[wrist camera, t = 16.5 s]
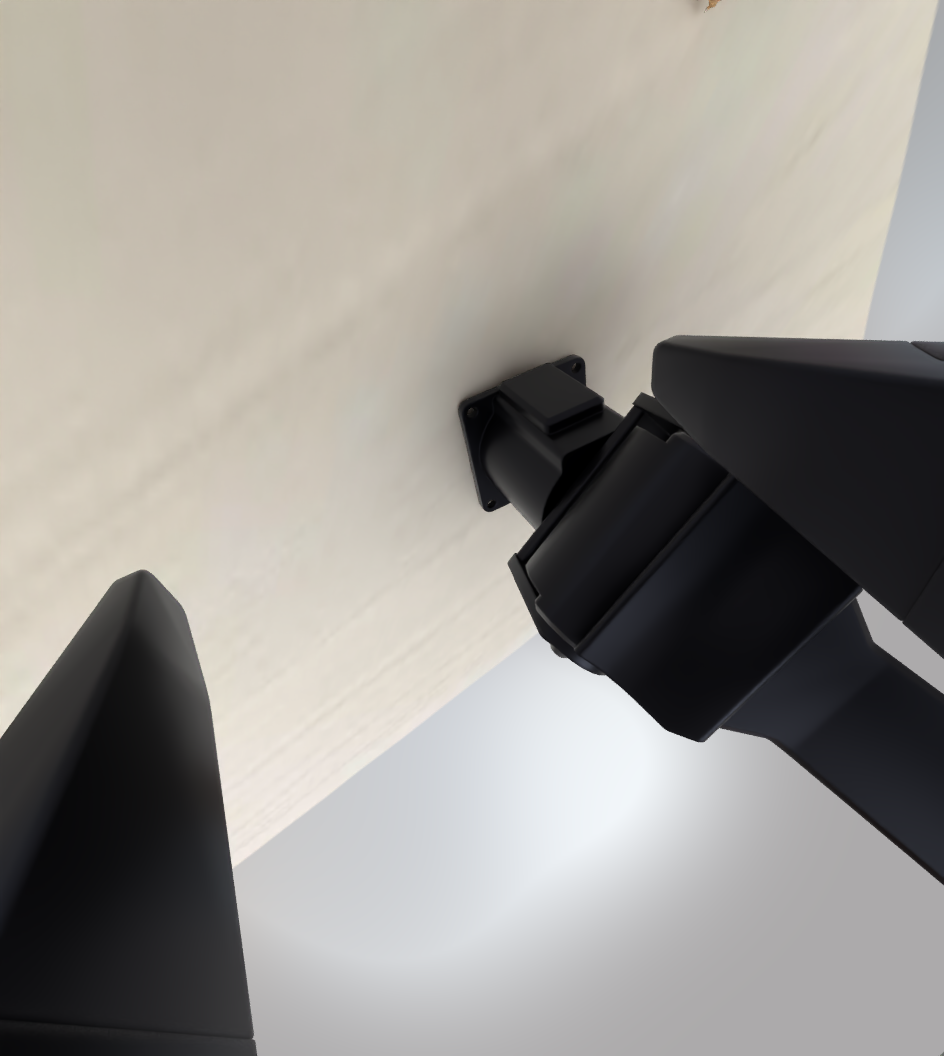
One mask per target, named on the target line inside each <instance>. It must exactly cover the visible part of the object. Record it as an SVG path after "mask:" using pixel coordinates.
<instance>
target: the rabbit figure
mask: <svg viewBox="0 0 944 1056" xmlns="http://www.w3.org/2000/svg"><path fill="white" fill-rule="evenodd" d="M718 1H720V0H709V6H708V7H707V8H706V10H705V12H706V11H707V10H708V9H709V8H711V7H715V6H716V4H717V2H718ZM705 12H704V13H705Z"/></svg>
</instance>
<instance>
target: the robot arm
mask: <svg viewBox="0 0 944 1056" xmlns="http://www.w3.org/2000/svg"><path fill="white" fill-rule="evenodd" d="M575 363H576V366H575V368H574V369H573V370H572V366H573V365H574V364H575ZM651 388H652V392H653V395H654V396H655V398H654V397H651V396H649V395H647V394H645V393H642V392H641V393H640V395H639V396H638V397H637V398H636V400H635V401H634V402H633V405H634V406H633V408H632V409H631V410H630V411H629V413H628V414H627V415H626V416H625V417H623V416H622V415H620V414H619V413H617V412H615V411H614V410H612V409H611V408H609V407H608V406H606V405H605V404H604V398H603V397H602V396H600V395H598V394H597V393H595V392H594V391H592V390H591V389H589V388H588V387H586V374H585V362H584V360H583V359H582V358H581V357H579V356H577V355H570V356H568V357H566V358H563V359H561V360H559V361H556V362H554V363H552V364H550V363H546V364H544V365H541V366H539V367H536V368H534V369H532V370H529V371H527V372H525V373H522V374H520V375H517V376H515V377H513V378H510V379H508V380H506V381H503V382H502V383H501V384H500V385H499V386H497V387H495V388H493V389H490V390H488V391H485V392H483V393H481V394H478V395H476V396H474V397H471V398H469V399H467V400H465V401H463V402H462V403H461V405H460V407H459V409H458V411H459V417H460V422H461V426H462V430H463V434H464V439H465V443H466V447H467V451H468V456H469V460H470V464H471V468H472V473H473V477H474V481H475V485H476V490H477V494H478V498H479V502H480V505H481V507H482V508H483V509H484V510H485V511H487V512H491V511H494V510H496V509H498V508H501V507H503V506H505V505H507V504H509V503H512V505H513V506H514V507H515V508H516V509H517V510H518V511H519V512H520V513H521V514H522V516H523V517H524V518H525V519H526V520H527V521H528V522H529V523H530V524H531V525H532V527H533V528H534V529H535V530H536V531H535V532H534V533H533V535H532V536H531V537H530V538H529V540H528V541H527V542H526V543H525V545H524V546H523V547H522V548H521V550H520V551H519V552H518V554H517V553H515V554H514V555H513V556H512V557H511V559H510V560H509V561H508V566H509V568H510V570H511V572H512V574H513V577H514V580H515V582H516V584H517V586H518V588H519V590H520V593H521V595H522V597H523V599H524V601H525V603H526V606H527V608H528V610H529V612H530V614H531V616H532V619H533V621H534V623H535V625H536V627H537V629H538V632H539V634H540V635H541V636H542V637H543V638H544V639H545V640H546V641H547V642H549V643H550V645H551V649H552V650H553V651H554V653H555V654H556V655H558V656H559V657H561V658H569V659H570V660H571V661H572V662H574V663H575V664H577V665H578V666H580V667H581V668H583V669H585V670H587V671H589V672H591V673H594V674H597V675H607V676H608V677H609V678H610V679H612V680H613V681H614V682H615V683H616V684H618V685H619V686H620V687H621V688H622V689H624V690H625V691H626V692H627V693H628V694H629V695H630V696H631V697H632V698H633V699H634V700H635V701H636V702H637V703H638V704H639V705H640V706H641V707H642V708H643V709H644V710H645V711H646V712H648V713H649V714H650V715H651V716H652V717H653V718H654V719H655V720H656V721H657V722H658V723H659V724H660V725H661V726H662V727H663V728H664V729H666V730H667V731H669V732H672V733H674V734H677V735H680V736H683V737H686V738H688V739H691V740H694V741H696V742H705V741H706V740H707V739H708V738H709V737H710V736H711V735H712V734H713V733H714V732H715V731H716V730H717V729H719V728H722V729H726V730H730V731H735V732H740V733H744V734H749V735H753V736H758V737H763V738H766V739H768V740H770V741H772V742H773V743H774V744H775V745H777V746H778V747H779V748H781V749H782V750H783V751H784V752H786V753H787V754H788V755H789V756H790V757H792V758H793V759H794V760H795V761H796V762H798V763H799V764H800V765H801V766H802V767H804V768H805V769H806V770H807V771H808V772H809V773H811V774H812V775H813V776H814V777H815V778H817V779H818V780H819V781H820V782H821V783H823V784H824V785H825V786H826V787H827V788H829V789H830V790H831V791H832V792H833V793H834V794H836V795H837V796H838V797H839V798H840V799H842V800H843V801H844V802H845V803H847V804H848V805H849V806H850V807H851V808H852V809H854V810H855V811H856V812H857V813H858V814H860V815H861V816H862V817H863V818H864V819H865V820H867V821H868V822H869V823H870V824H871V825H873V826H874V827H875V828H876V829H877V830H879V831H880V832H881V833H882V834H883V835H885V836H886V837H887V838H888V839H889V840H890V841H892V842H893V843H894V844H895V845H897V846H898V847H899V848H900V849H901V850H903V851H904V852H905V853H906V854H907V855H909V856H910V857H911V858H912V859H913V860H915V861H916V862H917V863H918V864H919V865H920V866H922V867H923V868H924V869H925V870H926V871H928V872H929V873H930V874H931V875H932V876H933V877H935V878H936V879H937V880H938V881H939V882H941V883H942V884H943V885H944V694H943V693H941V692H940V691H938V690H937V689H936V688H934V687H933V686H932V685H930V684H929V683H928V682H926V681H925V680H924V679H922V678H921V677H920V676H918V675H917V674H915V673H914V672H913V671H912V670H910V669H909V668H907V667H906V666H905V665H903V664H902V663H901V662H899V661H898V660H897V659H895V658H894V657H893V656H891V655H890V654H889V653H887V652H886V651H885V650H883V649H882V648H881V647H879V646H878V645H877V644H875V643H874V642H873V640H872V637H871V635H870V632H869V630H868V627H867V625H866V622H865V620H864V617H863V615H862V612H861V609H860V607H859V604H858V602H857V599H856V597H857V596H858V595H859V594H860V593H861V592H862V590H863V589H864V590H865V591H867V592H868V593H869V594H870V595H871V596H872V597H873V598H875V599H876V600H877V601H878V602H879V603H880V604H882V605H883V606H884V607H885V608H886V609H887V610H889V611H890V612H891V613H892V614H893V615H894V616H895V617H897V618H898V619H899V620H901V621H903V624H904V625H905V626H906V627H907V628H909V629H910V630H911V631H912V632H913V633H914V634H915V635H917V636H918V637H919V638H920V639H921V640H922V641H924V642H925V643H926V644H927V645H928V646H929V647H930V648H932V649H933V650H934V651H935V652H936V653H937V654H939V655H940V656H941V657H942V658H943V659H944V342H924V341H923V342H922V341H913V342H911V343H909V342H907V341H882V340H844V339H805V338H767V337H728V336H690V335H677V336H673V337H671V338H669V339H667V340H664V341H662V342H660V343H658V344H657V345H656V346H655V349H654V351H653V362H652V381H651ZM470 408H473V411H472V413H470V414H468V415H467V412H468V410H469V409H470ZM491 500H492V501H491ZM489 501H491V502H490V503H489V504H488V502H489ZM862 588H863V589H862ZM253 1032H254V1031H253V1024H252V1016H251V1009H250V1002H249V994H248V986H247V978H246V971H245V964H244V956H243V948H242V941H241V934H240V925H239V918H238V910H237V903H236V896H235V887H234V880H233V872H232V865H231V857H230V849H229V842H228V834H227V827H226V819H225V812H224V804H223V796H222V789H221V781H220V774H219V766H218V759H217V751H216V743H215V736H214V728H213V721H212V713H211V707H210V701H209V696H208V692H207V688H206V684H205V681H204V677H203V674H202V670H201V666H200V663H199V659H198V656H197V652H196V649H195V645H194V641H193V638H192V634H191V631H190V627H189V623H188V620H187V616H186V614H185V611H184V609H183V608H182V606H181V605H180V603H179V602H178V601H177V600H176V599H175V598H174V597H173V595H172V594H171V593H170V592H169V591H168V590H167V589H166V588H165V587H164V586H163V585H162V584H161V583H160V582H159V580H158V579H157V578H156V577H155V576H154V575H153V574H152V573H150V572H149V571H147V570H139V571H136V572H134V573H132V574H129V575H127V576H125V577H122V578H120V579H118V580H116V581H115V582H114V583H113V584H112V585H111V587H110V588H109V589H108V591H107V592H106V594H105V595H104V596H103V598H102V599H101V600H100V602H99V603H98V605H97V606H96V607H95V609H94V610H93V611H92V613H91V614H90V616H89V617H88V618H87V620H86V621H85V623H84V624H83V625H82V627H81V628H80V629H79V631H78V632H77V634H76V635H75V636H74V638H73V639H72V640H71V642H70V643H69V645H68V646H67V647H66V649H65V650H64V652H63V653H62V654H61V656H60V657H59V658H58V660H57V661H56V663H55V664H54V665H53V667H52V668H51V669H50V671H49V672H48V674H47V675H46V676H45V678H44V679H43V680H42V682H41V683H40V685H39V686H38V687H37V689H36V690H35V692H34V693H33V694H32V696H31V697H30V698H29V700H28V701H27V703H26V704H25V705H24V707H23V708H22V709H21V711H20V712H19V714H18V715H17V716H16V718H15V719H14V721H13V722H12V723H11V725H10V726H9V727H8V729H7V730H6V732H5V733H4V734H3V736H2V737H1V738H0V1056H257V1051H256V1045H255V1044H256V1043H255V1040H253V1039H252V1038H253V1036H254V1033H253ZM940 1056H944V1052H943V1053H942V1054H941V1055H940Z"/></svg>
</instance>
